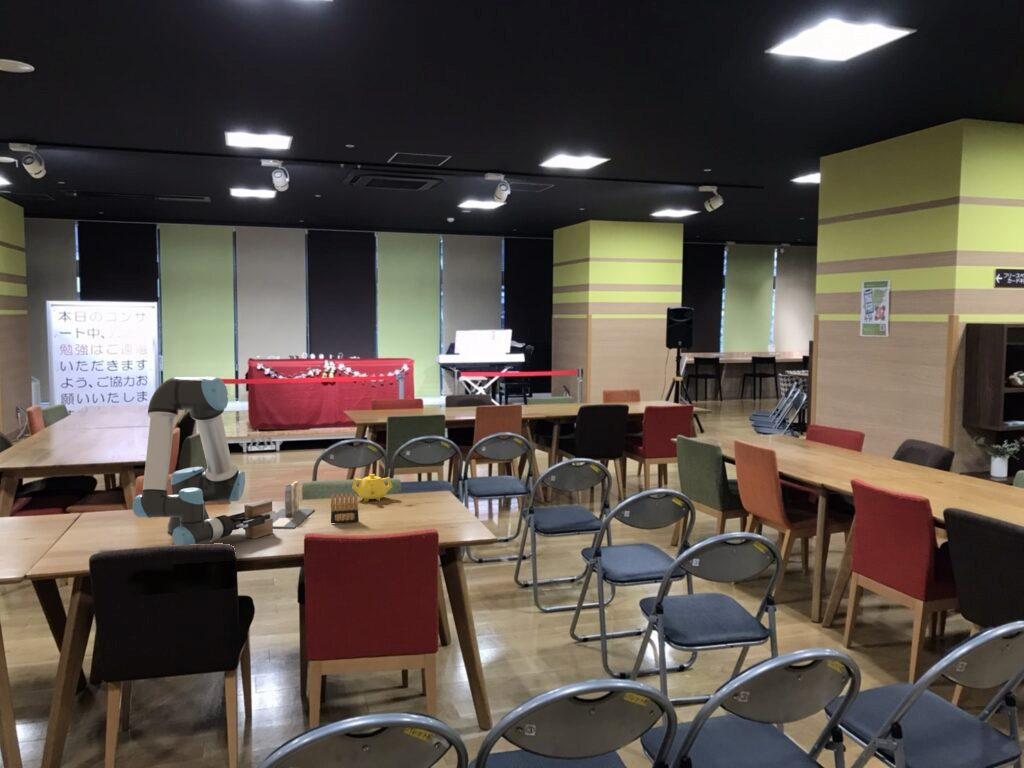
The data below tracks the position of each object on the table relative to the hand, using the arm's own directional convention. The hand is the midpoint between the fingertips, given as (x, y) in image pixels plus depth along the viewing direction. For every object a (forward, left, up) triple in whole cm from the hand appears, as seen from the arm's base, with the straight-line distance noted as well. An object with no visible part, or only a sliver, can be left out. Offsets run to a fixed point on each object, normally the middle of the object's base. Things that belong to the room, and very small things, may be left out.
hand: (270, 513), depth 287 cm
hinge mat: (-9, +17, -7) cm, 21 cm away
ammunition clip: (+14, +25, -8) cm, 29 cm away
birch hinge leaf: (-12, +22, -7) cm, 26 cm away
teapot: (-3, +60, -8) cm, 61 cm away
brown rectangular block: (0, -5, -7) cm, 9 cm away
